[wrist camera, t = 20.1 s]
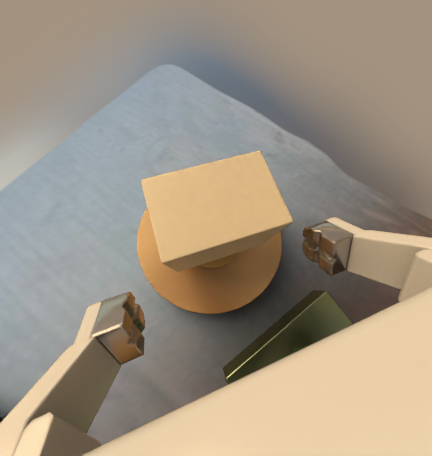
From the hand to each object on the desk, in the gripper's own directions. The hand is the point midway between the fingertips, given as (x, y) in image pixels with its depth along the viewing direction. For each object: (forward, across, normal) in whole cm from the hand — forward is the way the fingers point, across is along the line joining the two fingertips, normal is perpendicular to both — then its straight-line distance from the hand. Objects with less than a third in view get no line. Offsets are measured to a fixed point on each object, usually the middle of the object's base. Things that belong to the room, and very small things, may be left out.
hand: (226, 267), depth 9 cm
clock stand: (+7, -1, +3) cm, 7 cm away
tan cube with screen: (+6, -1, +2) cm, 6 cm away
